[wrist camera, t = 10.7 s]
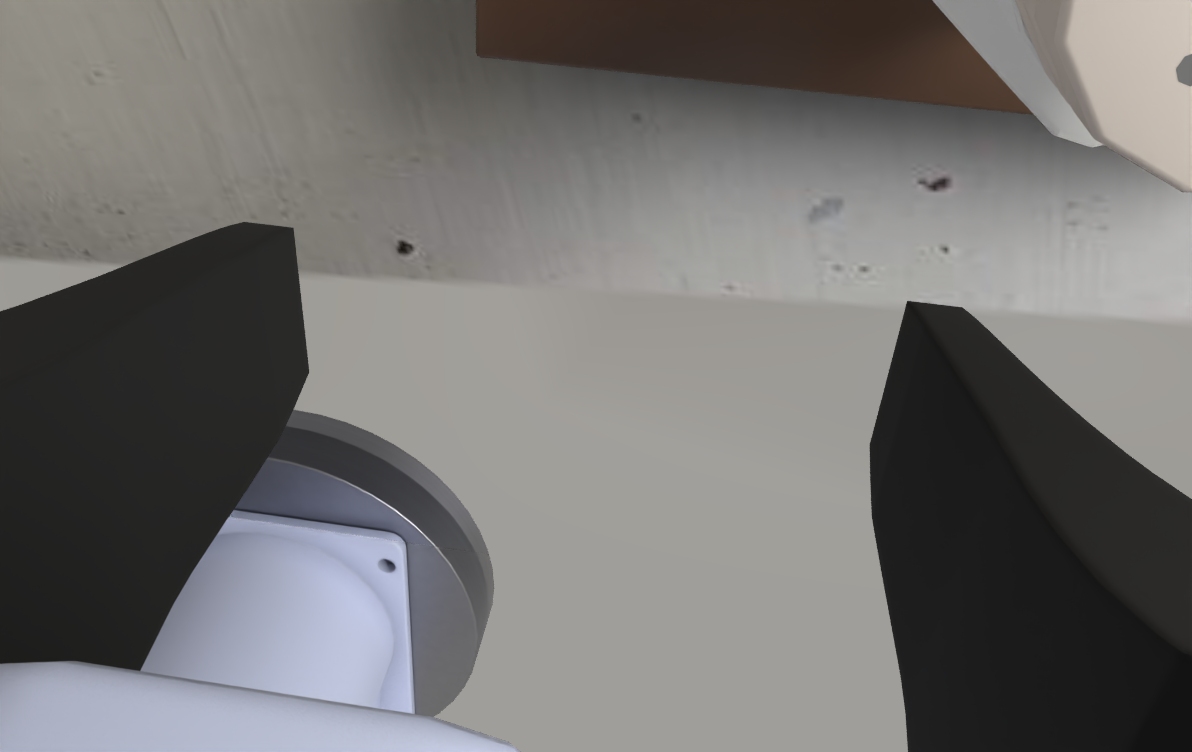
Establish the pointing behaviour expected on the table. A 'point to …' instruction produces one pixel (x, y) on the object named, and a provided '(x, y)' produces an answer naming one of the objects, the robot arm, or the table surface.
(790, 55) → the green-edged brown block
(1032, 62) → the salt shaker
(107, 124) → the table surface
